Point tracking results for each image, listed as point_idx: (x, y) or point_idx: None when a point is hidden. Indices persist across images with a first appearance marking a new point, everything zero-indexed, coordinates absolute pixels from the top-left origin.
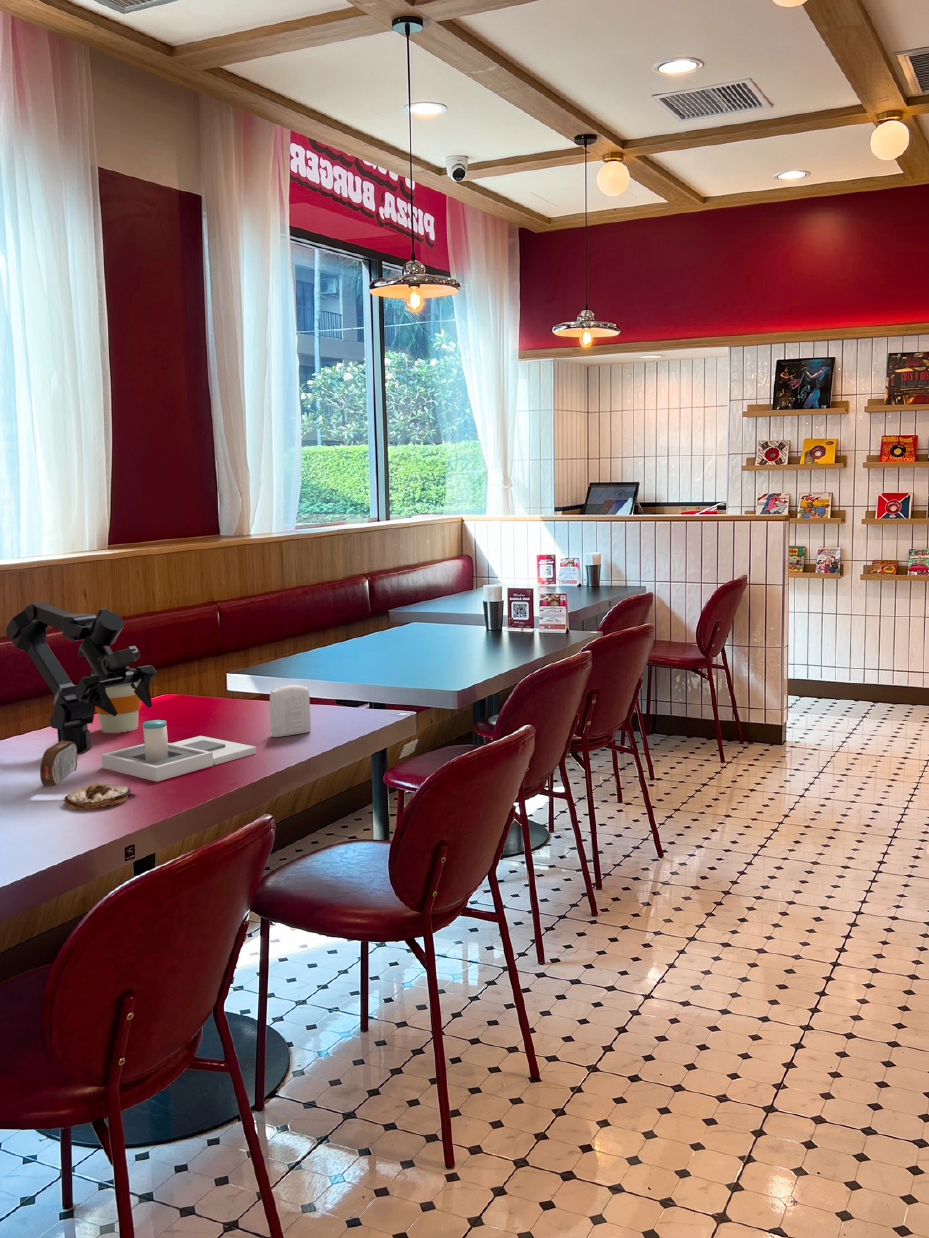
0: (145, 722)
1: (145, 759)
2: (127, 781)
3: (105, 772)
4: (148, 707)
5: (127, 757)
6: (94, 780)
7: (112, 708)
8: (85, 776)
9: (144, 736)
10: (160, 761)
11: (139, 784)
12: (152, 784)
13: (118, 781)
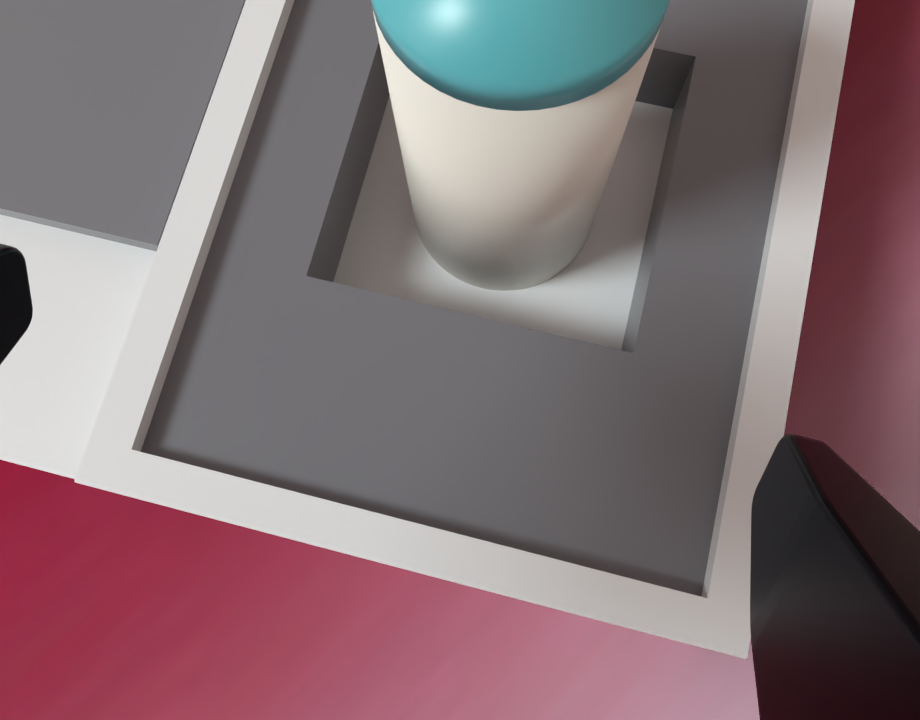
0: (559, 59)
1: (575, 240)
2: (816, 244)
3: None
4: (13, 336)
5: (658, 372)
6: (912, 514)
7: (892, 514)
8: None
9: (630, 106)
10: None
11: (836, 114)
12: None
13: (846, 308)
